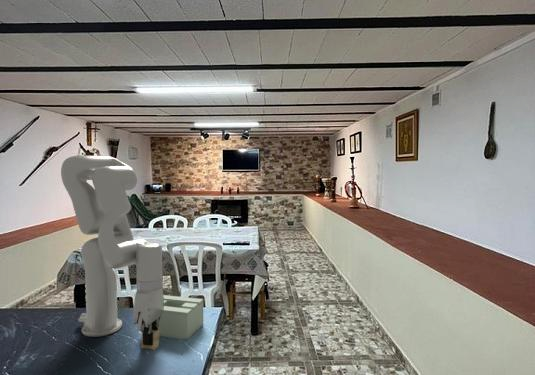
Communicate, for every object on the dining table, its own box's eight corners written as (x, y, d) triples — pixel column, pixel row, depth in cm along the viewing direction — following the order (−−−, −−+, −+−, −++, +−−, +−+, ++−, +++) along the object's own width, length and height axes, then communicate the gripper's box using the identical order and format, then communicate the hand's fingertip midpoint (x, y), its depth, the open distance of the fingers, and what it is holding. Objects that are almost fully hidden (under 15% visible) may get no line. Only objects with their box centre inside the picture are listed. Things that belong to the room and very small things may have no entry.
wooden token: (141, 347, 109) (141, 331, 108) (145, 343, 111) (146, 328, 111) (154, 350, 108) (154, 334, 107) (158, 346, 110) (159, 330, 110)
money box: (143, 334, 118) (143, 307, 117) (162, 319, 129) (162, 294, 129) (187, 340, 114) (187, 312, 113) (203, 323, 126) (203, 299, 125)
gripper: (153, 275, 117) (154, 329, 118) (122, 291, 101) (123, 354, 102) (173, 277, 115) (174, 332, 116) (145, 294, 99) (146, 357, 101)
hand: (150, 342), depth 109 cm, fingers closed on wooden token, 2 cm apart
